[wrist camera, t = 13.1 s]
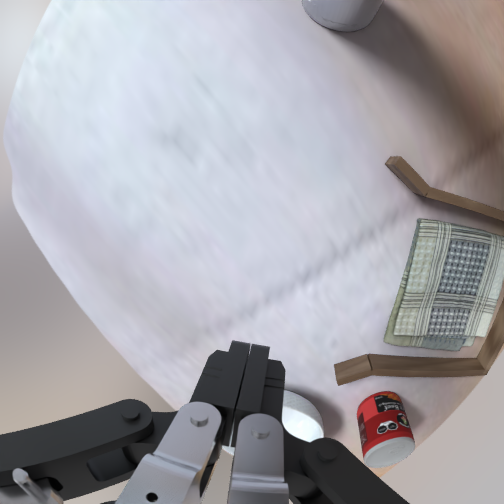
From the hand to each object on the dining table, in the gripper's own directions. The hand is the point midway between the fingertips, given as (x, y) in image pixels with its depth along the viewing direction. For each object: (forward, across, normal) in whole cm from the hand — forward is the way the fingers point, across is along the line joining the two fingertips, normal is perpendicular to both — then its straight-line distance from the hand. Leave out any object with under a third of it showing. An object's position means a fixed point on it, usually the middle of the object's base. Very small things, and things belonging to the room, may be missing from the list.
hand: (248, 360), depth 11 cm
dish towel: (+25, -26, +5) cm, 36 cm away
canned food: (+24, -22, +27) cm, 43 cm away
